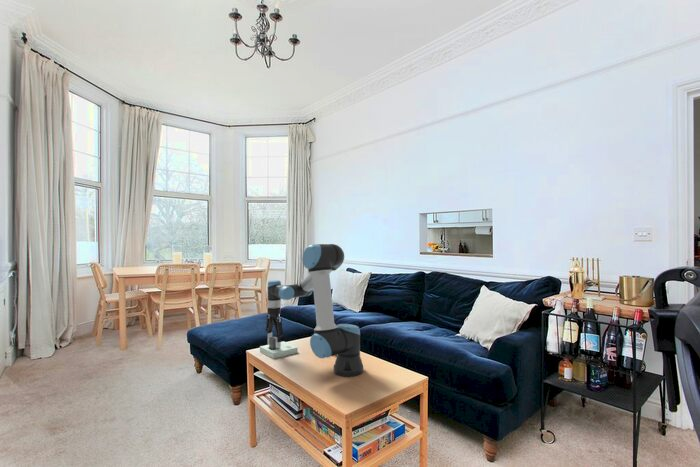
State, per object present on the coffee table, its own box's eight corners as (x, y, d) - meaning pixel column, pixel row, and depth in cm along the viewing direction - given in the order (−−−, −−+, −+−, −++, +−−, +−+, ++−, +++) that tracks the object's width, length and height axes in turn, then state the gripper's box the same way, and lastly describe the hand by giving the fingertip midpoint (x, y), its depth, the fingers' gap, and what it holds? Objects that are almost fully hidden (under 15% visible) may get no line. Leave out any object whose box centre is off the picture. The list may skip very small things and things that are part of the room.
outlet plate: (297, 352, 207) (297, 347, 207) (273, 358, 196) (273, 353, 197) (283, 346, 219) (283, 341, 219) (259, 351, 209) (259, 346, 209)
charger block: (278, 353, 206) (278, 337, 206) (272, 354, 203) (272, 339, 203) (275, 351, 209) (275, 336, 209) (269, 353, 206) (269, 337, 206)
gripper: (289, 308, 200) (289, 348, 200) (270, 303, 217) (270, 340, 216) (277, 310, 195) (277, 351, 195) (259, 305, 212) (259, 342, 211)
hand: (274, 345), depth 206 cm, fingers open, 9 cm apart
